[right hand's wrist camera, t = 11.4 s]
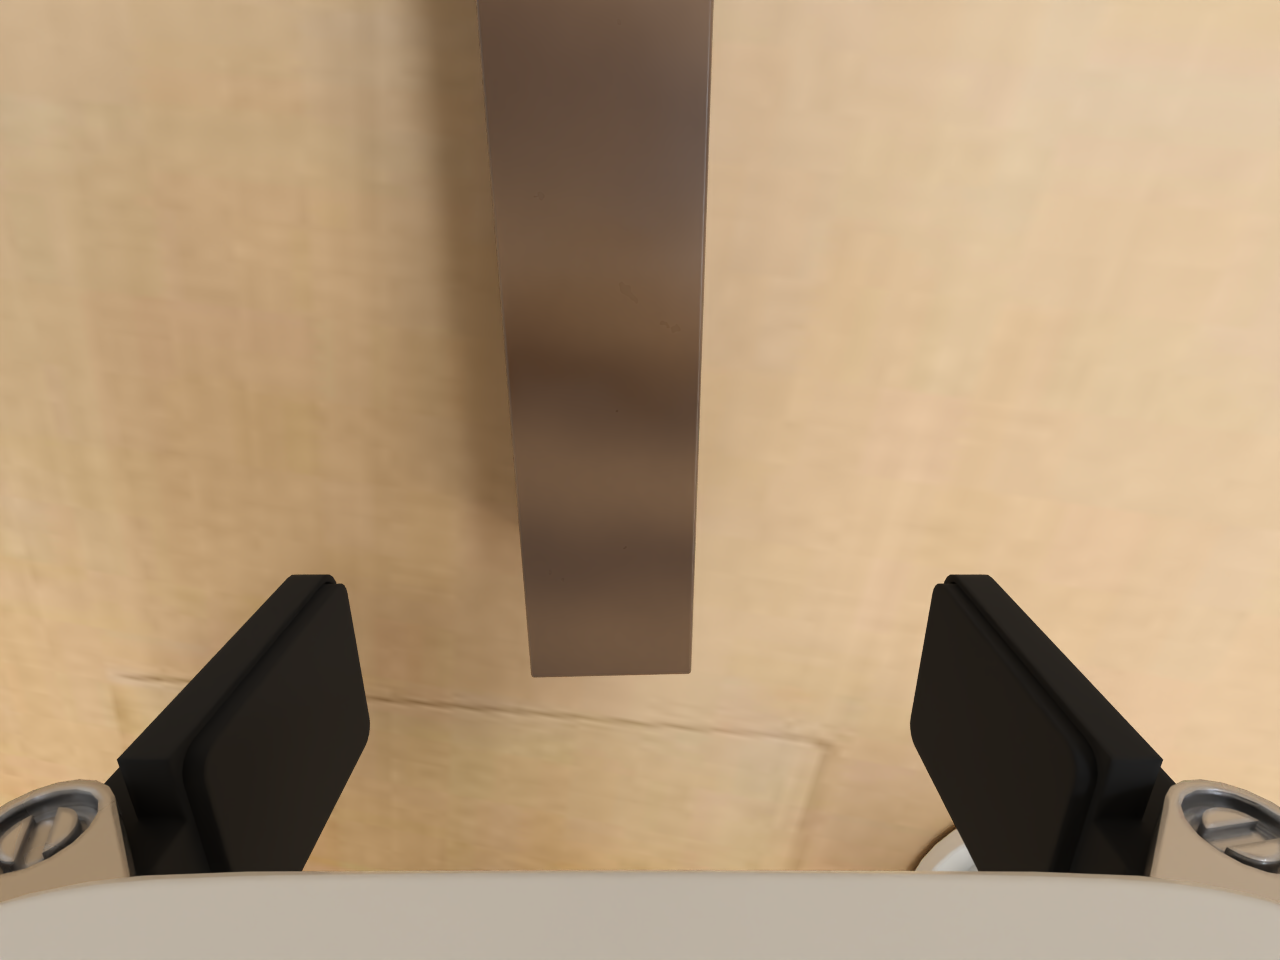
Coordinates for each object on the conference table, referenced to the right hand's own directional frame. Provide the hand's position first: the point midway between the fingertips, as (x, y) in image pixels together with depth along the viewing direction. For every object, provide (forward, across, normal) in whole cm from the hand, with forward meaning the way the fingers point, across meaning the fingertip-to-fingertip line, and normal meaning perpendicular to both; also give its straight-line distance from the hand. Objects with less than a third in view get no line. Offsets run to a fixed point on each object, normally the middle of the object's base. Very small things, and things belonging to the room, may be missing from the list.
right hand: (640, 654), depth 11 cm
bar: (+15, +1, -20) cm, 25 cm away
